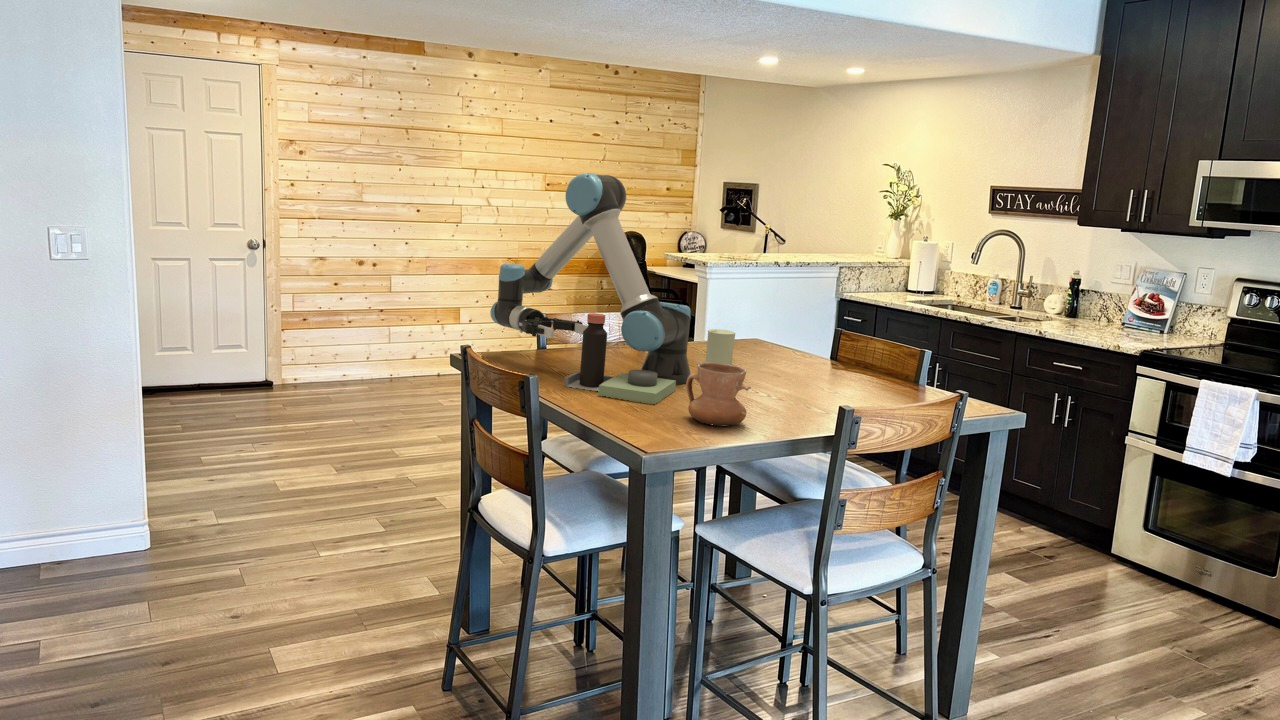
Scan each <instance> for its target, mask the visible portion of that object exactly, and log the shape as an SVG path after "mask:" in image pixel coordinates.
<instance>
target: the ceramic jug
mask: <svg viewBox="0 0 1280 720" xmlns="http://www.w3.org/2000/svg"><path fill="white" fill-rule="evenodd" d="M696 370H697V373H696V372H695V373H691V375H689V377H688V379H687V382H686V383H685V385H686V386H685V388H686V393H687V396H688V400H689V405H688V413H689V415H690V416H691V417H692V418H693V419H694V420H696V421H698V422H700V423H702V424H704V423H706V424H705V425H708V424H713V425H731V426H735V425H738V424H740V423H742V422H743V421H744V420H745V418H746V417H747V409H746V407H745V405H743V404H742V403H741V402H740V401H739V400H738V399H737V398H736V396H737V394H738V392H739V391H742V390H745V391H746V392H748V391H749V390H750V389H752V386H750V384H748V383H744V381H745V378H746V376H747V369H746V368H744V367H742V366H738V365H733V364H732V365H725V364H719V363H705V362H700V363H698V364H697V369H696ZM694 380H696V381H697V382H698V383H699V387H700V391H701V392H702V393H701V394H700V396H698V397H694V392H693V381H694ZM713 425H712V426H713Z"/></svg>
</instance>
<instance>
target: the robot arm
mask: <svg viewBox="0 0 1280 720" xmlns="http://www.w3.org/2000/svg"><path fill="white" fill-rule="evenodd" d="M626 202H627V191H626V187H625V186H624V184H623V183H622V181H621V180H619V179H618V178H617V177H615V176H612V175H609V174H595V173H592V172H588V173H581V174H578V175H576V176H574V177H573V178H572V179H571V180H570V182H569V183H568V185H567V188H566V190H565V203H566V206H567V208H568V209H569V211H571V213H573V214H575V215H577V217H576V218H575V219H573V221H572V222H571V223H570V224H569V225H568V226H567V227H566V228H565V229H564V230H563V231H562V233H561V234H560V235H559V236H558V237H557V238H556V239H555V240H554V242H552V243H551V245H549V247H548V248H547V249H546V250H545V251H544V252H543V253H542V254H541V255H540V256H539V258H538V259H537V260H536V261H535V262H534V263H533V264H532V265H531V266H530V267H529V268H527V269H525V266H524V265H523V264H518V263H503V264H501V265H500V267H499V275H498V291H497V292H498V294H497V301H496V302H494V303H493V304H492V307H491V308H490V318H491V319H492V321H493V323H495V324H497V325H499V326H501V327H504V328H508V329H509V328H510V329H513V330H516V331H519V333H520V334H523V333H525V334H528V335H531V337H537V335H538V336H541V337H546V338H549V339H554V334H555V333H554V332H555V331H556V330H560V331H569V332H574V333H576V334H580V335H583V331H584V330H585V329H586V328H587V327H588V325H587V324H586V325H585V324H583V321H580V320H576V321H575V320H568V319H560V318H557V317H554V318H550V317H548V316H544V313H543V312H542V311H541V310H539V309H536V308H532V307H528V306H523V298H524V294H535V293H536V294H537V293H538V294H539V293H542V292H546V291H548V290H549V289H550V288H551V287H552V284H553V279H554V277H556V276H557V275H558V273H559V272H561V270H562V269H564V267H565V266H566V265H567V264H568V263H569V262H570V261H571V259H573V258H574V257H575V256H576V254H578V252H579V251H580V250H581V249H582V248H584V246H585V245H586V244H587V243H588V242H589V241H590V240H591V239H592V238H594V241H595V244H596V246H597V248H598V251H599V252H600V253H599V254H600V256H601V257H602V260H603V262H604V264H605V267H606V270H607V271H608V273H609V276H610V277H609V278H610V279H611V281H612V285H613V287H614V288H615V291H616V293H617V296H618V298H619V300H620V302H621V305H622V307H621V309H620V312H619V314H620V316H621V319H622V323H621V324H622V325H621V326H620V330H621V331H620V332H621V336H622V338H623V339H622V340H624V342H625V343H626V344H627V346H629V347H630V348H631V349H632V350H634V351H637V352H647V353H646V356H645V359H644V361H643V363H642V365H641V367H640V370H648V371H653V372H656V373H657V378H662V379H669V380H675V381H676V385H682V384H686V382H687V379H688V377H689V375H691V374H692V373H691V370H690V366H689V365H690V364H689V359H688V346H689V345H688V344H689V336H690V335H689V334H690V327H691V326H690V325H691V319H692V317H691V308H690V306H688V305H684V304H678V303H671V302H664V301H663V302H662V301H660V300H659V298H658V296H656V295H654V294H651V293H650V291H649V287H648V285H647V284H646V280H645V279H644V276H643V274H642V272H641V269H640V267H639V264H638V262H637V259H636V257H635V255H634V252H633V250H632V248H631V246H630V242H629V241H628V239H627V235H626V233H625V231H624V229H623V227H622V224H621V222H620V220H619V216H620V214H621V211H622V210H623V208H624V207H625V204H626Z"/></svg>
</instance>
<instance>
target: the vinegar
mask: <svg viewBox="0 0 1280 720" xmlns="http://www.w3.org/2000/svg"><path fill="white" fill-rule="evenodd" d="M586 320H587V321H586V322H587V323H586V325H587V326H588V327H587V328H586V329H585V330H584V331H583V334H582V340H581V341H582V343H581V357H580V370H579V372H580V381H579V383H580V385H582V386H586V387H599V385H600V384H602V383H603V382H604V376H605V367H606V357H607V356H606V354H607V343H608V342H607V341H608V333H607V331H606V330H605V328H604V325H605V323H606V315H605V314H602V313H597V312H596V313H594V312H593V313H592V312H591V313H587V319H586Z"/></svg>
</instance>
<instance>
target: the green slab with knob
mask: <svg viewBox="0 0 1280 720" xmlns="http://www.w3.org/2000/svg"><path fill="white" fill-rule="evenodd" d="M563 381H564V383H563V386H564V387H566V386H567V387H566V388H569V387H572V388H571V389H576V388H579V389H578V390H582V389H585V390H584V391H589V390H592V391H591V392H595V391H598V393H597V395H599V396H598V397H602V396H606V397H605V398H608V397H611V398H610V399H615V398H618V399H617V400H621V399H624V400H623V401H627V400H629V402H635V403H640V402H641V404H649V405H653V404H655V405H657V404H658V403H660V402H662V401H663V400H664V399H665V397H666V398H667V397H668V396H670V395H671V394H673V393H674V392H676V385H677V384H676V381H675V380H669V379H662V378H657V373H656V372H653V371H648V370H641V369H630V370H629V371H628V373H627V372H622V373H619V374H618V375H615V376H610V375H604V382H603V383H602V384H600V385H599V387H586V386H582V385H580V383H579V381H580V371H577V372H574V373H572V374H569V375H567V376H564V380H563ZM662 399H663V400H662ZM656 403H657V404H656Z"/></svg>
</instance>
